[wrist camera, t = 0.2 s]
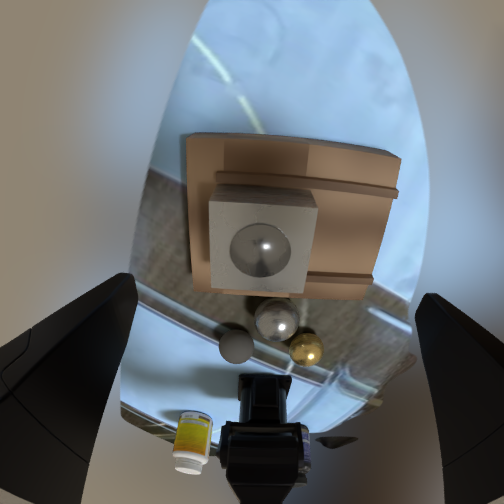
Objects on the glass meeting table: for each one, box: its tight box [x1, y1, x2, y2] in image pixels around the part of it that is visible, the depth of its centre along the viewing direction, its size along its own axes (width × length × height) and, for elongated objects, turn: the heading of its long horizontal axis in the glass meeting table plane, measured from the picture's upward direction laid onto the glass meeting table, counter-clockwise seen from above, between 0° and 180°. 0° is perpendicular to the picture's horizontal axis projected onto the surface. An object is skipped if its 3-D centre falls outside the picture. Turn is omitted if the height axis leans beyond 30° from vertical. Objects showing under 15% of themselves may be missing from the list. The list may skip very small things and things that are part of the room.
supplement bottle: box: [172, 411, 213, 474], centre depth 36 cm, size 6×6×10 cm
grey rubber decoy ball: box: [219, 329, 254, 364], centre depth 27 cm, size 4×4×4 cm
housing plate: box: [186, 133, 401, 300], centre depth 20 cm, size 12×14×3 cm
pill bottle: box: [292, 425, 311, 488], centre depth 37 cm, size 6×6×11 cm
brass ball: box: [289, 333, 324, 367], centre depth 27 cm, size 4×4×4 cm
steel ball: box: [254, 297, 300, 342], centre depth 25 cm, size 4×4×4 cm
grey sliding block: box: [209, 184, 318, 293], centre depth 18 cm, size 6×6×3 cm
